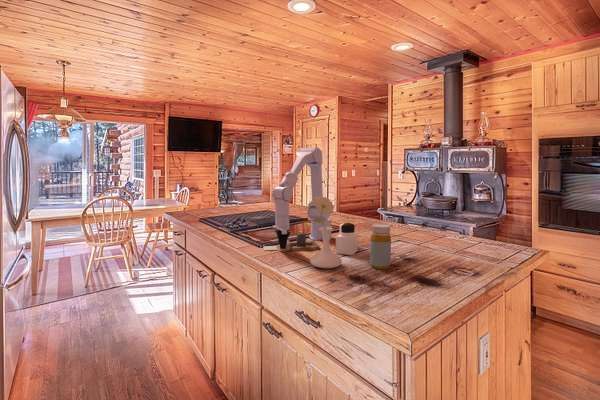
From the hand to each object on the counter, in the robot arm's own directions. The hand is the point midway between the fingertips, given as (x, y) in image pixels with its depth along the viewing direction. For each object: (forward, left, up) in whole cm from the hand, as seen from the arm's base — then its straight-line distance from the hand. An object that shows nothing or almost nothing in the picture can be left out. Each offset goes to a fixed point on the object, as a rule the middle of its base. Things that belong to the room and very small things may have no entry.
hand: (282, 247), depth 142 cm
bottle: (-32, +27, -2) cm, 41 cm away
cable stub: (-9, -4, -1) cm, 10 cm away
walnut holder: (-10, -4, -1) cm, 11 cm away
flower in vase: (-13, +22, -2) cm, 25 cm away
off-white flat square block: (+5, -4, -1) cm, 7 cm away
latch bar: (-1, -4, -1) cm, 4 cm away
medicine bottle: (-26, +7, -2) cm, 27 cm away
